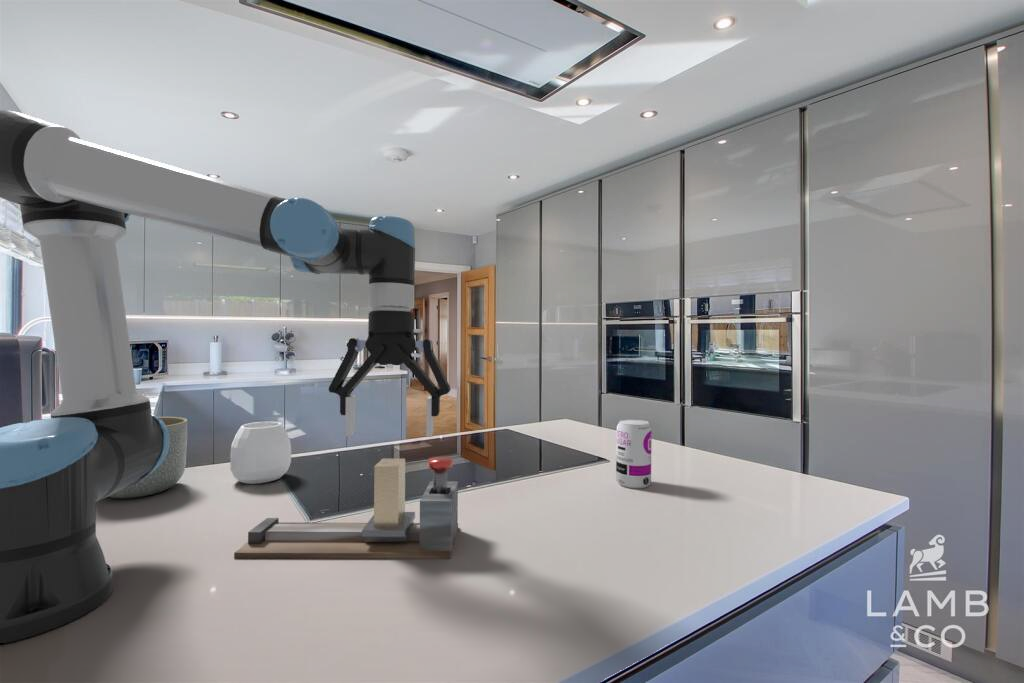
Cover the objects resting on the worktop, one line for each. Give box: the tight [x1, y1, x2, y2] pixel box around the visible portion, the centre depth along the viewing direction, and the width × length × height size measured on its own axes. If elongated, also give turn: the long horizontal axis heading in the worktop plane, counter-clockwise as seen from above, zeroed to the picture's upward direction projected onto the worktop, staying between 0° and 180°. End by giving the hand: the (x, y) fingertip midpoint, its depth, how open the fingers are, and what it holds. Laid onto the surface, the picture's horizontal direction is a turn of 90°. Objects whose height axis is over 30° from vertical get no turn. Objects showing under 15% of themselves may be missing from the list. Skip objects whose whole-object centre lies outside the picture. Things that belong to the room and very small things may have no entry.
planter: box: [108, 416, 189, 499], centre depth 103 cm, size 17×17×15 cm
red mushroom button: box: [427, 456, 453, 494], centre depth 79 cm, size 4×4×7 cm
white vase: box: [229, 420, 292, 485], centre depth 113 cm, size 13×13×14 cm
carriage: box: [362, 458, 416, 542], centre depth 79 cm, size 8×7×12 cm
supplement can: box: [615, 418, 653, 490], centre depth 111 cm, size 8×8×15 cm
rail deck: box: [233, 480, 459, 560], centre depth 79 cm, size 12×34×9 cm, turn 91°
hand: (390, 435), depth 79 cm, fingers open, 13 cm apart
